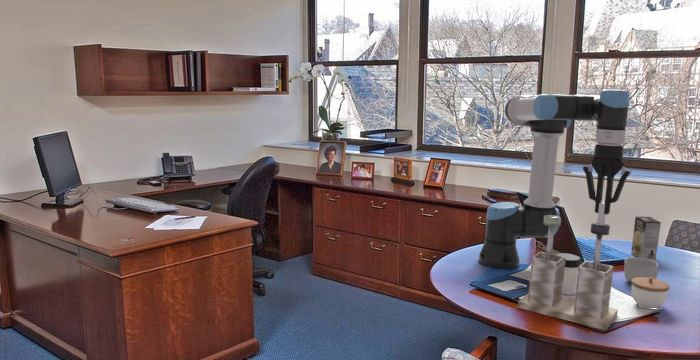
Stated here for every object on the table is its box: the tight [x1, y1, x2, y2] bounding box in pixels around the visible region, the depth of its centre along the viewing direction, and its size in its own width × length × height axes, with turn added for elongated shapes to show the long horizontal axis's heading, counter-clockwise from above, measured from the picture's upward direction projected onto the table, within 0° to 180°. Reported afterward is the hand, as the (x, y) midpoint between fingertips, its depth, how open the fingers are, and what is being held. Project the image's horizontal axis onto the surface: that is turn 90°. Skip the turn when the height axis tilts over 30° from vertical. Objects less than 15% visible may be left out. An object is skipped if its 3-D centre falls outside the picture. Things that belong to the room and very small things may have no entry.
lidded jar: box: [631, 277, 670, 309], centre depth 185 cm, size 11×11×9 cm
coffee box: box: [631, 216, 662, 261], centre depth 236 cm, size 9×6×16 cm
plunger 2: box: [590, 222, 611, 271], centre depth 172 cm, size 6×6×17 cm
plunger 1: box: [543, 215, 562, 261], centre depth 180 cm, size 6×6×17 cm
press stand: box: [517, 251, 619, 331], centre depth 178 cm, size 26×14×16 cm, turn 54°
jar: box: [555, 252, 581, 296], centre depth 196 cm, size 9×8×12 cm
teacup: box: [623, 255, 660, 284], centre depth 208 cm, size 14×11×8 cm
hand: (600, 224), depth 170 cm, fingers closed
